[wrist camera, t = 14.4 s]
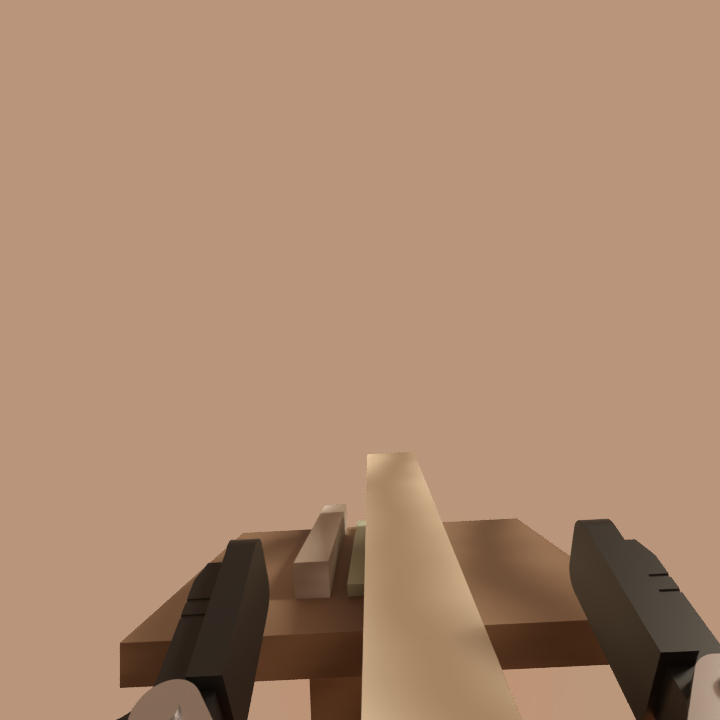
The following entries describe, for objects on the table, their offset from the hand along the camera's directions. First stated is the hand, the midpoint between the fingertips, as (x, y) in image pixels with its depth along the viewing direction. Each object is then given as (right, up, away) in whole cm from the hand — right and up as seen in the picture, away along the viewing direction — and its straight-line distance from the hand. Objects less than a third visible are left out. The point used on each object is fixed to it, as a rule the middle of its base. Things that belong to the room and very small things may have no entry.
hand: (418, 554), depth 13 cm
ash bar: (0, -4, +8) cm, 9 cm away
